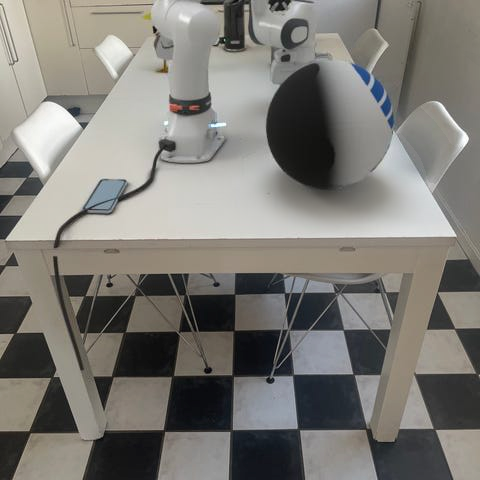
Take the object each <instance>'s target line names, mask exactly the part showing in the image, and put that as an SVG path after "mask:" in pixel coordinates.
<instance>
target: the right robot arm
mask: <svg viewBox="0 0 480 480" xmlns="http://www.w3.org/2000/svg"><path fill="white" fill-rule="evenodd" d="M292 1H293V0H268V5H269V7H268V8H269V10H270V11H271V12H272V13H274V12H284V11H285V12H286V11H287V10H288V9H289V8H290V7H289V5H291V3H292ZM245 5H246V0H225V1H224V2H223V6H222V7H223V8H222V9H223V36H219V37H218V40H217V43H215V44H214V45H213V46H212V47H218V46H220V45H223V46H224V47H223V48H224V50H225V51H226V52H230V53H231V52H232V53H235V52H237V53H238V52H243V51H245V50H246V25H245V24H246V23H245V16H246V15H245ZM157 34H158V32H156V34H154V35H155V37H156V36H157Z"/></svg>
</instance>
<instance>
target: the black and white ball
mask: <svg viewBox="0 0 480 480" xmlns="http://www.w3.org/2000/svg"><path fill="white" fill-rule="evenodd" d="M265 119H266V120H265V135H266V141H267V145H268V147H269V151H270V153H271V155H272V157H273V159H274V161H275V162H276V164H277V165H278V166H279V168H280V169H281V170H282V171H283V172H284V174H286V175H287V176H288V177H290V178H291V179H292V180H294V181H295V182H297V183H299V184H301V185H303V186H306V187H310V188H313V189H317V190H338V189H342V188H346V187H349V186H351V185H354V184H356V183H358V182H361V181H362V180H363V179H366V177H368V176H369V175H370V174H371V173H373V172H374V170H376V169H377V167H378V166H379V165H380V164H381V162H382V161H383V160H384V158H385V157H386V154H387V153H388V151H389V149H390V146H391V143H392V139H393V135H394V129H395V128H394V127H395V115H394V110H393V106H392V102H391V99H390V97H389V95H388V92H387V90H386V89H385V87H384V86H383V84H382V83H381V82H380V81H379V79H378V78H377V77H375V75H373V73H371V72H369V70H368V69H365V68H364V67H362V66H359V65H357V64H355V63H352V62H350V61H346V60H338V59H337V60H336V59H332V60H327V61H319V62H315V63H312V64H309V65H307V66H304V67H302V68H300V69H299V70H297V71H296V72H294V73H293V74H292V75H290V76H289V77H288V78H287V79H286V80H285V81H284V82H283V83H282V84H280V86H278V88H277V90H276V91H275V92H274V94H273V97H272V99H271V101H270V104H269V105H268V109H267V115H266V118H265Z"/></svg>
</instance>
